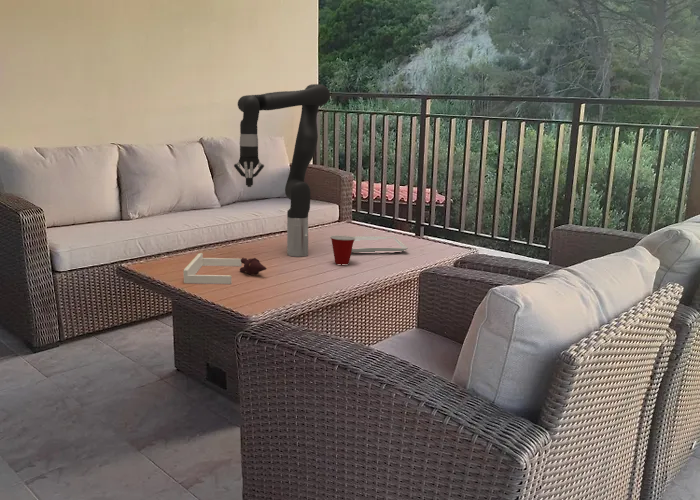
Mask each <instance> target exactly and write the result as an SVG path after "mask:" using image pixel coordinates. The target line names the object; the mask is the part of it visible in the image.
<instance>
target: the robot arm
mask: <svg viewBox="0 0 700 500" xmlns="http://www.w3.org/2000/svg"><path fill="white" fill-rule="evenodd" d="M330 98H331V93H330V90H329V88H328V87H327V86H326V85H324V84H321V83H320V84H319V83H314V84H313V83H312V84H309V85H307V86H305V88H304V89H300V90H290V91H288V90H287V91H285V90H284V91H282V90H281V91H273V92H265V93H260V94H250V95H249V94H247V95H242V96H241V97H239V99H238V101H237V107H238V110H239V111H241V112H242V113H243V114H242V119H241V120H240V124H239V130H240V131H239V133H240V134H239V159H238V162H236V163H234V164H233V167H234V168H235V170H236V171H237V172H238V174H239V175H240V176H241V177H243V178H245V185H246V186H247V188H251V187H252V186H253V185H254V178H256V177H257V176H258V175H259V174H260V172H261V171H262V170H263V169H264V167H265V164H263V163H261V162H260V159H259V135H258V121H259V117H260V111H273V110H281V109H286V108H291V107H297V106H301V114H300V120H299V123H298V127H297V128H298V130H297V134H296V138H295V143H294V149H293V155H292V160H291V166H290V169H289V172H288V173H289V174H288V176H287V181H286V183H285V188H284V192H285V196H286V197H287V199H289V200H290V207H289V209H288V210H287V213H286V216H287V217H286V218H287V219H286V220H287V221H286V227H287V229H286V230H287V232H286V233H287V234H286V235H287V237H286V238H287V239H286V245H287V246H286V248H287V249H286V254H287V255H288V256H290V257H296V258H299V257H308V255H309V213H310V211H311V210H310V209H311V188H310V186H309V184H308V183H306V182H305V178H306V172H307V170H308V169H307V168H308V167H309V165H310V163H311V162H312V160H313V158H314V156H315V153H316V149H317V145H318V137H319V135H318V128H317V127H318V126H317V116H318V111H319V107H323V106H324V105H326V104H328V102H329V100H330ZM241 167H242V168H241ZM256 168H258V169H257V170H256V171H255V172H254V170H255V169H256ZM242 169H244V171H243V170H242Z"/></svg>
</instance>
